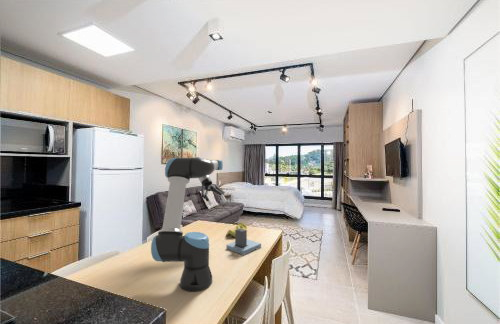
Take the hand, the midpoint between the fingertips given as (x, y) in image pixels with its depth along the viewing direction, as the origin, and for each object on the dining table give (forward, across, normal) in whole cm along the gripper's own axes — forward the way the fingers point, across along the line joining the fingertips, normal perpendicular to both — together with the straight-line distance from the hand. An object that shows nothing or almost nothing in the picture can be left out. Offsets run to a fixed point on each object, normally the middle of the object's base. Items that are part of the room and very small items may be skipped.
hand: (218, 203), depth 156 cm
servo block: (+34, -5, -8) cm, 35 cm away
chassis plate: (+34, -8, -8) cm, 35 cm away
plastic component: (+17, -26, -26) cm, 41 cm away
